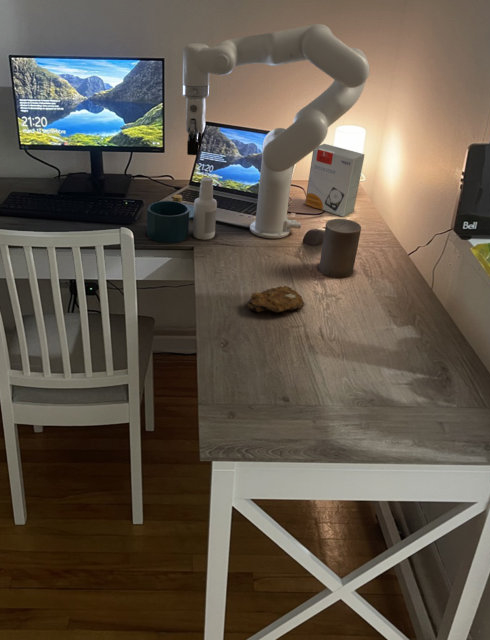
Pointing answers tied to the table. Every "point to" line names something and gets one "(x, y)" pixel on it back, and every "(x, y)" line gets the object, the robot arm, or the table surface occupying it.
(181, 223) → the tin
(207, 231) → the spray bottle
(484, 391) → the table surface
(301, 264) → the table surface
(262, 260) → the table surface
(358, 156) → the hard drive box
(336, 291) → the table surface
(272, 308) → the decorative rock
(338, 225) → the pillar candle
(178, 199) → the tin lid
